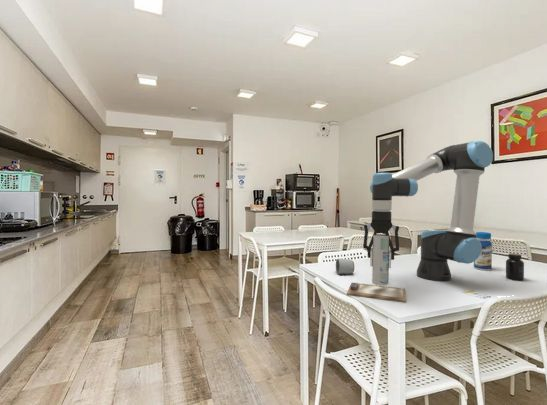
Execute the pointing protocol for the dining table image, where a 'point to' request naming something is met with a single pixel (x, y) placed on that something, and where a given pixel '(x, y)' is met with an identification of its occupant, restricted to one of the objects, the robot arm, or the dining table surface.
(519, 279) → the supplement bottle
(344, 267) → the grey cylinder
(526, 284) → the dining table surface
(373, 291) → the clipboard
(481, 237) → the beverage bottle
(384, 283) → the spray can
